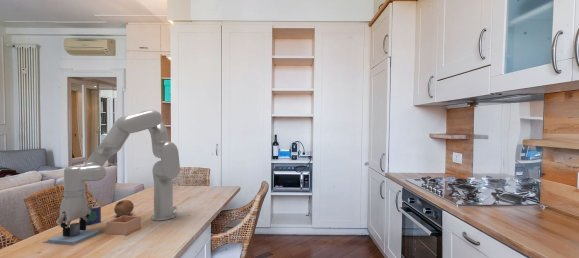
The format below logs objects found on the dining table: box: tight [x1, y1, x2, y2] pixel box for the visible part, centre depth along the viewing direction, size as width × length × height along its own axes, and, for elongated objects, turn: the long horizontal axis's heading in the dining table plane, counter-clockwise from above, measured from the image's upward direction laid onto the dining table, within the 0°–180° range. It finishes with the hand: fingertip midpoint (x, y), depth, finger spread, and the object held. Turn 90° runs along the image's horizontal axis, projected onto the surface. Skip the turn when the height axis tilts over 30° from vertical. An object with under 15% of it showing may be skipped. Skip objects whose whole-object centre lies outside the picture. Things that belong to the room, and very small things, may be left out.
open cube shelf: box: [106, 215, 142, 237], centre depth 135 cm, size 10×10×6 cm
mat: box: [42, 230, 104, 246], centre depth 128 cm, size 16×16×1 cm
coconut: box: [113, 199, 135, 217], centre depth 160 cm, size 10×9×10 cm
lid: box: [48, 222, 100, 244], centre depth 128 cm, size 13×13×6 cm
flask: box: [78, 204, 102, 227], centre depth 145 cm, size 9×3×11 cm, turn 138°
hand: (74, 232), depth 128 cm, fingers open, 7 cm apart
